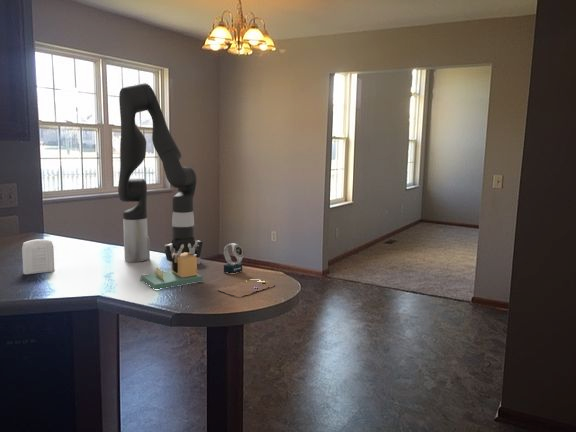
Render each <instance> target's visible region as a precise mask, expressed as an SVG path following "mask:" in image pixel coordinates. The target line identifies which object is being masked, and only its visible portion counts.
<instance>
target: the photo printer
mask: <svg viewBox="0 0 576 432" xmlns="http://www.w3.org/2000/svg"><path fill="white" fill-rule="evenodd" d="M21 253H22V255H21V256H22V271H23V272H22V273H23V274H24V275H33V274H42V273H43V274H44V273H51V272H52V273H53V272H55V252H54V244H53V241H52V240H50V239H44V238H38V239H31V240H27V241H24V242H23V243H22V247H21Z"/></svg>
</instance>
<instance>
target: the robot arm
mask: <svg viewBox="0 0 576 432" xmlns="http://www.w3.org/2000/svg"><path fill="white" fill-rule="evenodd" d="M118 94H119V96H118V97H119V99H118V100H119V103H118V104H119V114H120V115H119V116H120V140H119V141H120V142H119V143H120V145H119V147H120V148H119V155H120V157H119V160H120V162H119V165H120V166H119V176H118V177H119V178H118V189H117V191H118V192H117V194H118V199H119V200H120V201H121V202H127V203H128V202H131V203H133V202H135V203H137V204H136V205H135V206H133V207H130V208H129V209H126V210H124V211H123V213H122V219H123V220H122V222H123V223H122V224H123V247H124V248H123V251H124V253H123V254H124V261H126V262H129V263H130V262H132V263H133V262H134V263H135V262H144V261H147V260H151V259H150V258H151V257H150V256H151V255H150V251H151V250H150V249H151V248H150V236H148V213H147V212H148V211H147V210H148V209H147V205H148V203H147V200H148V199H147V197H148V187H147V186H148V185H147V182H146V179H144V178H131V176H132V174H133V172H135V170H137V169H138V167H140V166H141V164H142V163H143V162H144V161H145V158H146V155H147V154H146V153H147V139H146V138H145V135H144V134H143V132H142V131H141V130H140V129H139V128H138V126H137V124H136V114H137V113H141V112H145V111H147V112H148V113H149V115H150V117H151V118H150V119H151V120H152V132H151V133H152V135H151V136H152V137H151V138H152V139H151V140H152V146H153V147H154V150H155V151H156V154H157V155H158V157H159V160H160V161H161V162H162V166H163V171H164V173H165V177H166V179H167V180H166V181H168V183H169V185H171V186H172V187H173V188H175V189H177V192H176V194H174V195H173V197H172V204H171V205H172V217H171V232H172V233H171V234H172V235H171V236H172V237H171V238H172V240H171V243H168V244H163V249H164V253H165V257H166V260H167V261H169V262H170V263H171V262H172V269H173V271H174V272H175V273H178V263H177V262H178V257H180V255H181V253H184V252H186V253H188V254H190V255H193V256H196V257H197V258H199V257H200V258H201V252H202V248H203V241H201V240H199V239H198V240H195V215H194V197H195V192H196V186H197V174H196V172H195V170H194V169H193V168H192V167H190V166H182V165H181V162H180V160H181V158H182V154H181V150H180V149H179V147H178V145H177V144H176V142H175V140H174V138H173V136H172V134H171V132H170V130H169V128H168V125H167V123H166V119H165V116H164V114H163V111H162V108H161V105H160V104H159V101H158V98H157V95H156V93H155V91H154V90H153V88H152V86H151V85H149V83H147V82H143V83H142V82H141V83H137V84H132V85H126V86H123V87H122V88H120V91H119V93H118ZM194 245H195V246H196V248H195V253H194V252H193V249H192V247H193V246H194ZM172 248H173V249H174V250H173V253H172ZM172 254H173V257H172Z"/></svg>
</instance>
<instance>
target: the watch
mask: <svg viewBox="0 0 576 432" xmlns="http://www.w3.org/2000/svg"><path fill="white" fill-rule="evenodd" d="M230 246H231V252H232V254H233V256H234V257H235V259H236V262H235V261H233V260H232V257H231V256H230V252H229V247H230ZM244 254H245V251H244V248H243V247H242V246H241V245H240V244H238V243H235V242H232V243H228V244H226V245H225V246H224V248H223V257H224V260H225V261H226V264H225V263H224V264H223V273H224V272H228V273H236V272H239V273H241V272H240V271H242V272H243V263H242V260H243V258H244ZM236 274H237V273H236Z"/></svg>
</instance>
